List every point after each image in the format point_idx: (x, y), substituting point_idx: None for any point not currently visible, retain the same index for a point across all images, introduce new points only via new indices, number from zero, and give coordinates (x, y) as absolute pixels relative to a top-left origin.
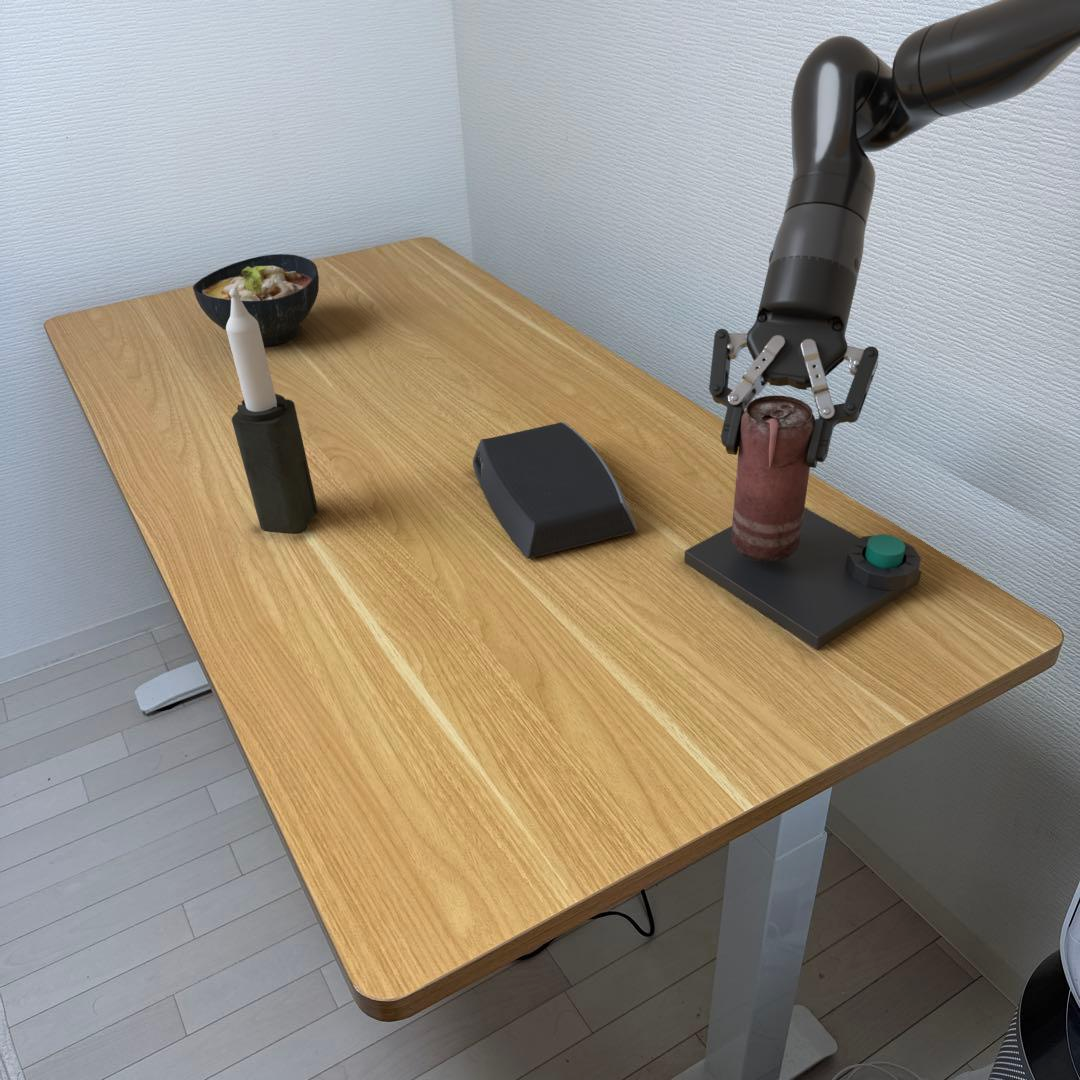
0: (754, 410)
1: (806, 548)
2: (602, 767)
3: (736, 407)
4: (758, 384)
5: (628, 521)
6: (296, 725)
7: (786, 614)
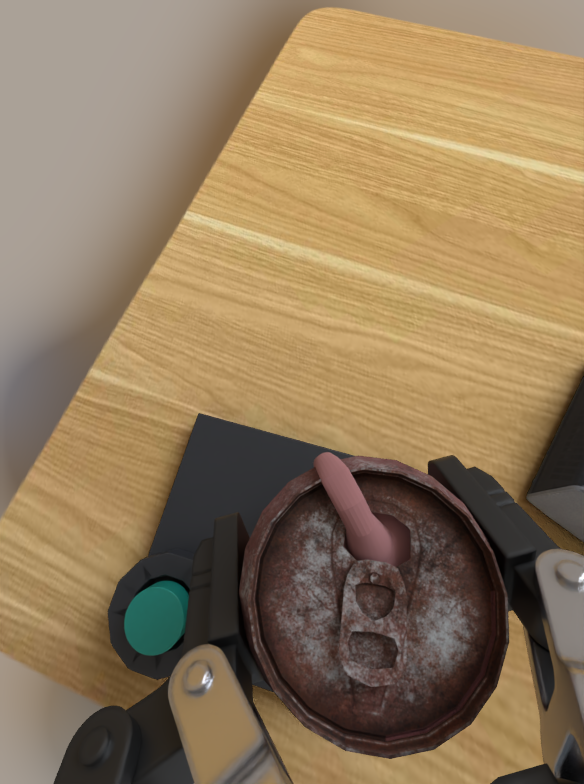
0: (463, 570)
1: None
2: (306, 182)
3: (529, 548)
4: (559, 720)
5: (547, 486)
6: (547, 81)
7: (248, 430)
